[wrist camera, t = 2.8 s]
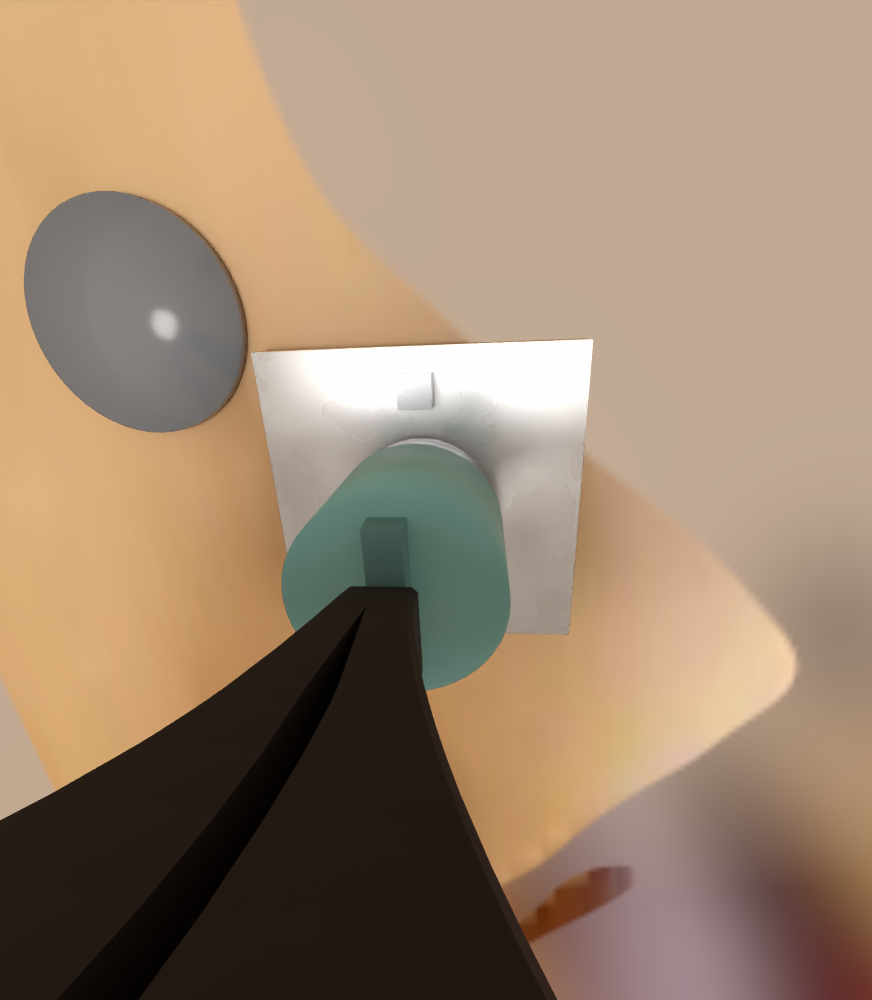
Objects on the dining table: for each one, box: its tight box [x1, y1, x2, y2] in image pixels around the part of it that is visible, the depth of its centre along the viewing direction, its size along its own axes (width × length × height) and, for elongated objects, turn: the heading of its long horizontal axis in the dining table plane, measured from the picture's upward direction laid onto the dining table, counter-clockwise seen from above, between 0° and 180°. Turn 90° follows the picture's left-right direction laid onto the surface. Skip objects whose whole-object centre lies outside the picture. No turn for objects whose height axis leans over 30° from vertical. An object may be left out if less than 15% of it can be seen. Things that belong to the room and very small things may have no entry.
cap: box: [282, 443, 511, 690], centre depth 11 cm, size 5×5×5 cm
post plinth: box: [251, 339, 593, 635], centre depth 15 cm, size 10×10×2 cm
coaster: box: [24, 191, 247, 432], centre depth 14 cm, size 7×7×1 cm
